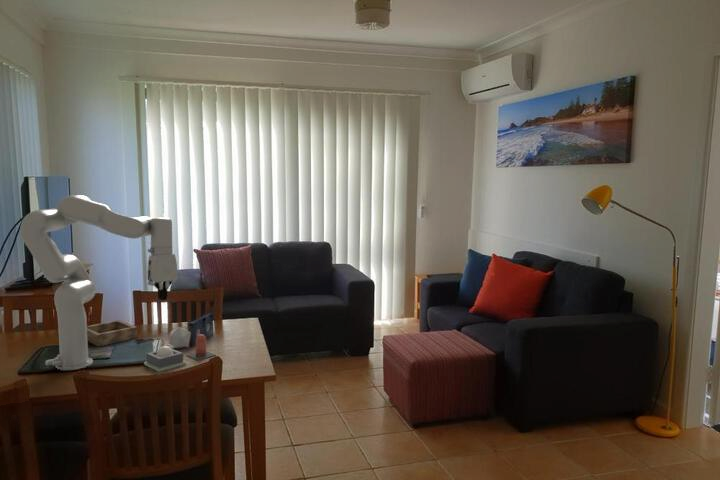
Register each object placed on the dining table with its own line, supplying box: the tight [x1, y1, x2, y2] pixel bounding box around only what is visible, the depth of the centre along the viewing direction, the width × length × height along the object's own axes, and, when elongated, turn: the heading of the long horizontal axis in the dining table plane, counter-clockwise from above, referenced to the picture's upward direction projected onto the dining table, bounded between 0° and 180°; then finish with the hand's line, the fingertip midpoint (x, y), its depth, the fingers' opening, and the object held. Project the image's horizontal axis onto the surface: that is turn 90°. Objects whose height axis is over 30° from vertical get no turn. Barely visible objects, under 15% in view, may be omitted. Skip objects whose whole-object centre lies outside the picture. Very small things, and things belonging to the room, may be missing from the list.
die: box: [168, 326, 191, 349], centre depth 229 cm, size 8×9×10 cm
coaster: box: [186, 350, 216, 361], centre depth 219 cm, size 8×8×1 cm
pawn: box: [195, 334, 207, 357], centre depth 219 cm, size 4×4×8 cm
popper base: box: [143, 347, 187, 373], centre depth 209 cm, size 11×11×4 cm
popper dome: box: [156, 345, 173, 357], centre depth 208 cm, size 6×6×6 cm
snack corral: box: [87, 319, 138, 347], centre depth 241 cm, size 17×17×5 cm
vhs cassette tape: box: [187, 312, 214, 347], centre depth 240 cm, size 18×3×10 cm, turn 167°
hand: (162, 299), depth 206 cm, fingers closed
